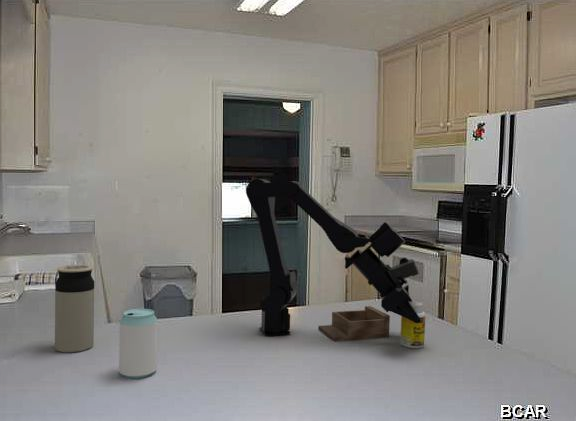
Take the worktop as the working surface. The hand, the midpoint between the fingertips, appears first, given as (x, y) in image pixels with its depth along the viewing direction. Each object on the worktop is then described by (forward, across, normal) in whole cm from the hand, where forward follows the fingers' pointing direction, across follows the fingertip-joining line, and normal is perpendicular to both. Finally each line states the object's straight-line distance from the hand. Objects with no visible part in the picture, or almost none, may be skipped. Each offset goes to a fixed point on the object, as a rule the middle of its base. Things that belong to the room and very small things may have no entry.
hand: (419, 318), depth 118 cm
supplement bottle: (+4, 0, +6) cm, 7 cm away
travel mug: (-48, -26, +58) cm, 79 cm away
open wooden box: (-7, +6, +16) cm, 18 cm away
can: (-33, -35, +43) cm, 65 cm away
